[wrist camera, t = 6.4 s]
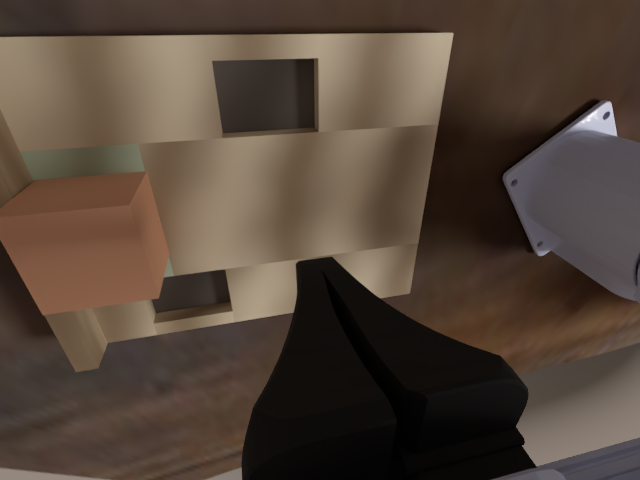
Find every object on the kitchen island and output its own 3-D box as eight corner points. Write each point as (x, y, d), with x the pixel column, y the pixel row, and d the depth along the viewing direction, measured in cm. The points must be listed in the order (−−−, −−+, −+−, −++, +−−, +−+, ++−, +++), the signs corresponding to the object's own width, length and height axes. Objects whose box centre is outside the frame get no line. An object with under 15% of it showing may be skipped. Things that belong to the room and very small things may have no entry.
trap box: (441, 32, 19) (477, 33, 16) (403, 283, 28) (422, 311, 25) (-49, 37, 14) (-111, 39, 12) (93, 332, 23) (76, 372, 21)
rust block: (146, 171, 18) (129, 205, 14) (169, 253, 20) (158, 298, 17) (34, 180, 17) (-12, 218, 13) (73, 265, 19) (42, 315, 16)
